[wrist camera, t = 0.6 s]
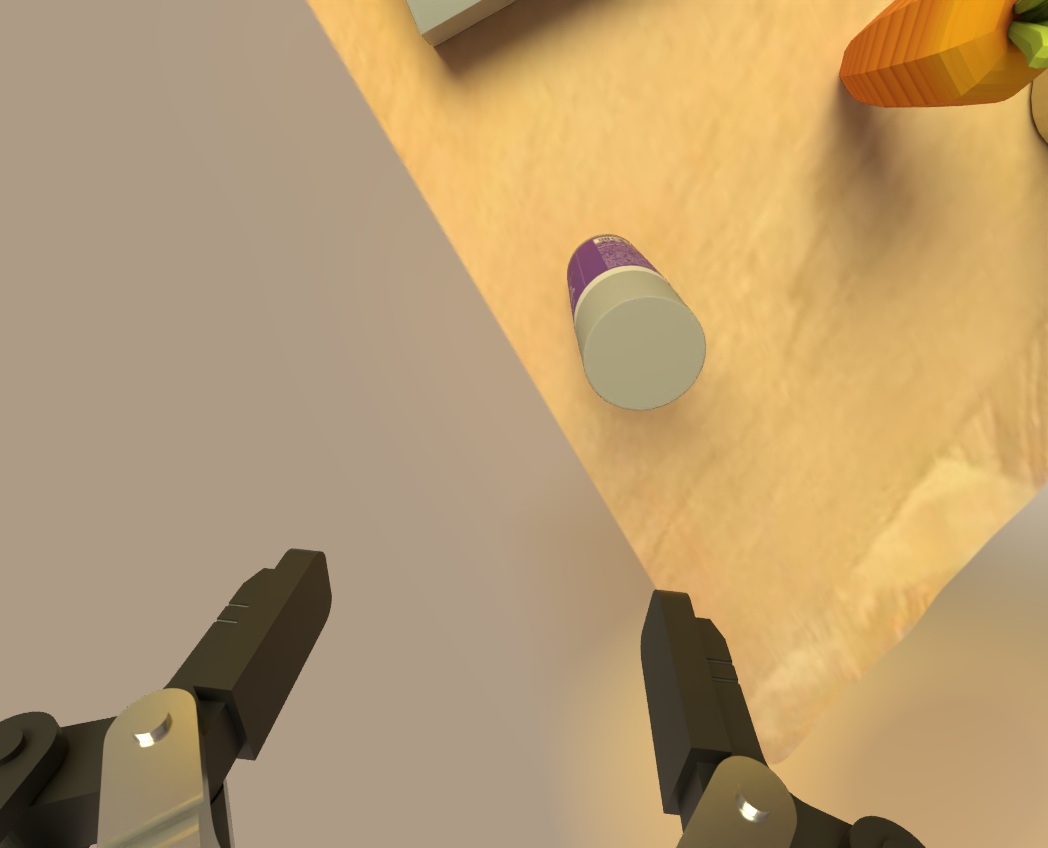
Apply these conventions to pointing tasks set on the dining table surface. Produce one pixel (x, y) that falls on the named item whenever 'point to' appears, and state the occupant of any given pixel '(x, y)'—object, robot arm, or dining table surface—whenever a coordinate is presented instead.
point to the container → (631, 326)
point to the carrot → (947, 52)
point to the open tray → (450, 16)
